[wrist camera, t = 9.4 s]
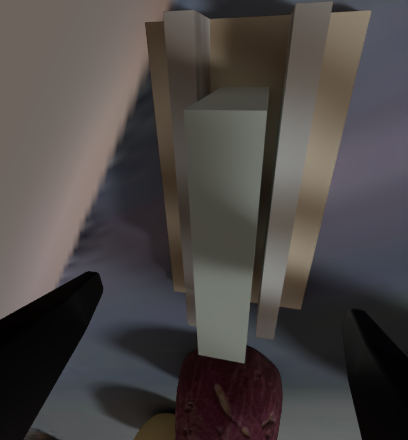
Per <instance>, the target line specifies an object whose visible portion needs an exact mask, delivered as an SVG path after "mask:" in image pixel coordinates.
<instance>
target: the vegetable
mask: <svg viewBox="0 0 408 440" xmlns="http://www.w3.org/2000/svg"><path fill="white" fill-rule="evenodd" d="M282 398H283V392H282V383H281V377H280V373H279V371H278V369H277V368H276V366H275V365H274V364H273V363H271V362H270V361H269V360H268V359H267V358H266V357H265V356H264V355H262V354H261V353H260V352H258V351H256V350H255V349H252V348H250V347H247V346H246V354H245V363H239V362H234V361H229V360H224V359H218V358H213V357H208V356H203V355H198V348H197V349H195V350H194V351H192V352H191V353H189V354H188V355H186V357H185V359H184V361H183V364H182V367H181V371H180V376H179V382H178V387H177V396H176V409H175V434H176V435H175V440H277V437H278V431H279V424H280V417H281V413H282Z"/></svg>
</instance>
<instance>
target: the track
mask: <svg viewBox="0 0 408 440" xmlns="http://www.w3.org/2000/svg"><path fill="white" fill-rule="evenodd" d="M332 5H333V1H331V2H315V3H298V4H295V6H294V9H293V11H292V13H291V15H277V16H258V17H239V18H220V19H209V18H207V17H206V16H204V15H202V14H200V13H199V12H197V11H195V10H182V11H166V12H163V16H164V21H163V22H146V23H145V27H146V36H147V44H148V54H149V64H150V73H151V82H152V91H153V100H154V110H155V119H156V128H157V137H158V147H159V156H160V165H161V174H162V184H163V193H164V202H165V211H166V221H167V230H168V239H169V248H170V257H171V267H172V276H173V285H174V291H178V292H185V294H186V307H187V320H188V325H190V326H196V327H197V323H196V306H195V290H194V273H193V256H192V240H191V223H190V206H189V190H188V173H187V156H186V140H185V123H184V109H186V108H188V107H189V106H191V105H193V104H194V103H196V102H198V101H199V100H201V99H203V98H204V97H206V96H208V95H209V94H211V93H213V92H214V91H216V90H217V89H219V88H221V87H269V98H268V110H267V121H266V132H265V143H264V155H263V166H262V177H261V188H260V200H259V211H258V222H257V233H256V245H255V256H254V267H253V278H252V289H251V300H250V302H252V303H258V305H257V321H256V337H260V338H265V339H271V340H274V334H275V329H276V323H277V317H278V312H279V307H285V308H292V309H299V310H301V306H302V302H303V298H304V294H305V289H306V285H307V281H308V277H309V272H310V268H311V264H312V260H313V255H314V251H315V247H316V243H317V239H318V234H319V230H320V226H321V222H322V217H323V213H324V209H325V205H326V200H327V196H328V192H329V188H330V184H331V179H332V175H333V171H334V167H335V162H336V158H337V154H338V150H339V146H340V141H341V137H342V133H343V129H344V124H345V120H346V116H347V112H348V107H349V103H350V99H351V95H352V91H353V86H354V82H355V78H356V74H357V69H358V65H359V61H360V57H361V53H362V48H363V44H364V40H365V36H366V31H367V27H368V23H369V19H370V14H371V11H352V12H333V13H331V11H332Z"/></svg>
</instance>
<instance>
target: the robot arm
mask: <svg viewBox="0 0 408 440" xmlns="http://www.w3.org/2000/svg"><path fill="white" fill-rule="evenodd" d="M102 293H103V285H102V282H101V278H100V275H99V273H97V272H91V271H88V272H85V273H83V274H82V275H80V276H78V277H76V278H74V279H73V280H71V281H69V282H67V283H65V284H64V285H62V286H60V287H58V288H56V289H55V290H53V291H51V292H49V293H48V294H46V295H44V296H42V297H40V298H38V299H37V300H35V301H33V302H31V303H29V304H28V305H26V306H24V307H22V308H20V309H19V310H17V311H15V312H13V313H11V314H10V315H8V316H6V317H4V318H3V319H1V320H0V440H23V439H24V438H25V436H26V434H27V432H28V431H29V429H30V427H31V425H32V424H33V422H34V420H35V418H36V417H37V415H38V413H39V411H40V410H41V408H42V406H43V404H44V403H45V401H46V399H47V397H48V396H49V394H50V392H51V390H52V389H53V387H54V385H55V383H56V382H57V380H58V378H59V376H60V375H61V373H62V371H63V369H64V368H65V366H66V364H67V362H68V361H69V359H70V357H71V355H72V354H73V352H74V350H75V348H76V347H77V345H78V343H79V341H80V340H81V338H82V336H83V334H84V333H85V331H86V329H87V327H88V325H89V323H90V320H91V318H92V316H93V314H94V311H95V309H96V307H97V305H98V303H99V300H100V298H101V296H102ZM342 334H343V343H344V351H345V359H346V368H347V375H348V381H349V386H350V390H351V395H352V399H353V403H354V407H355V412H356V416H357V420H358V424H359V428H360V433H361V437H362V440H408V357H407V356H406V355H405V354H404V353H403V352H402V351H401V350H400V349H399V348H398V347H397V345H396V344H395V343H394V342H393V341H392V340H391V339H390V338H389V337H388V336H387V335H386V334H385V333H384V331H383V330H382V329H381V328H380V327H379V326H378V325H377V324H376V323H375V322H374V321H373V320H372V319H371V318H370V316H369V315H368V314H367V313H366V312H365V311H363V310H361V309H354V308H350V309H348V311H347V314H346V317H345V319H344V322H343V325H342Z"/></svg>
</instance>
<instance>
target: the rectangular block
mask: <svg viewBox="0 0 408 440" xmlns="http://www.w3.org/2000/svg"><path fill="white" fill-rule="evenodd" d="M268 98H269V87H221V88H219V89H217V90H216V91H214V92H213V93H211V94H209V95H208V96H206V97H204V98H203V99H201V100H199V101H198V102H196V103H194V104H193V105H191V106H189V107H188V108H186V109H184V123H185V140H186V156H187V173H188V190H189V206H190V223H191V240H192V256H193V273H194V290H195V306H196V323H197V339H198V355H203V356H208V357H213V358H218V359H224V360H229V361H234V362H239V363H245V354H246V343H247V332H248V321H249V310H250V300H251V289H252V278H253V267H254V256H255V245H256V233H257V222H258V211H259V200H260V188H261V177H262V166H263V155H264V143H265V132H266V121H267V110H268Z"/></svg>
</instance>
